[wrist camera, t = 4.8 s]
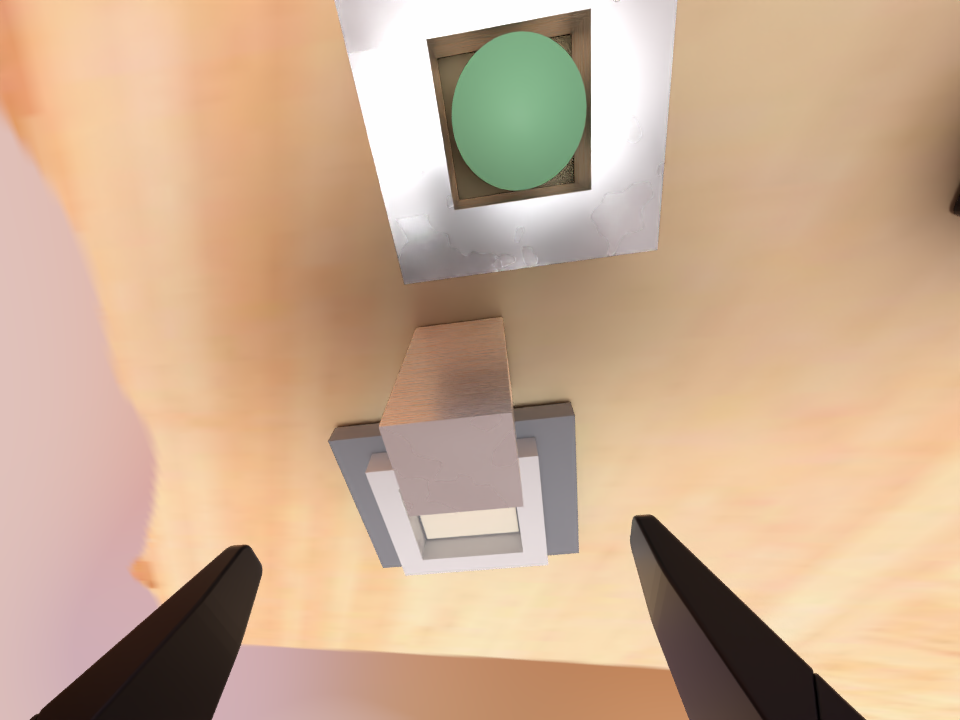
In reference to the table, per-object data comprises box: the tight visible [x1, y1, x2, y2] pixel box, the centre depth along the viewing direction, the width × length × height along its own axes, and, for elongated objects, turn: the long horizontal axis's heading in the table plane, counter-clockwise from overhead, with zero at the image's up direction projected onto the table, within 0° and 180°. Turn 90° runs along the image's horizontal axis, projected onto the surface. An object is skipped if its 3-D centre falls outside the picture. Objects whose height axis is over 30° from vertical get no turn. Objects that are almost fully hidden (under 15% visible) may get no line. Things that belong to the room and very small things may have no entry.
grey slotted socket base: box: [328, 402, 579, 576], centre depth 24 cm, size 14×12×3 cm
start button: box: [452, 31, 587, 191], centre depth 13 cm, size 4×4×4 cm
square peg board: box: [335, 0, 677, 284], centre depth 14 cm, size 10×10×3 cm
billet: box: [379, 317, 524, 516], centre depth 17 cm, size 4×4×8 cm
